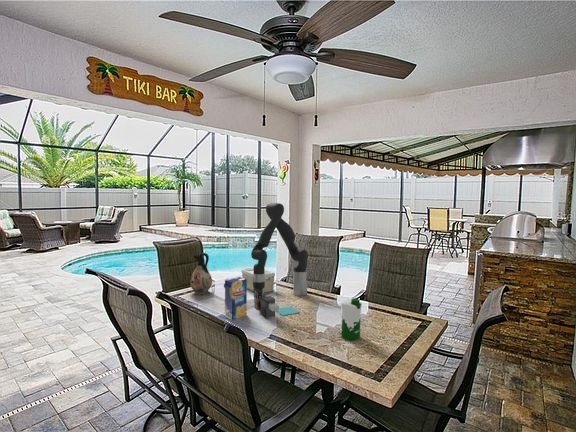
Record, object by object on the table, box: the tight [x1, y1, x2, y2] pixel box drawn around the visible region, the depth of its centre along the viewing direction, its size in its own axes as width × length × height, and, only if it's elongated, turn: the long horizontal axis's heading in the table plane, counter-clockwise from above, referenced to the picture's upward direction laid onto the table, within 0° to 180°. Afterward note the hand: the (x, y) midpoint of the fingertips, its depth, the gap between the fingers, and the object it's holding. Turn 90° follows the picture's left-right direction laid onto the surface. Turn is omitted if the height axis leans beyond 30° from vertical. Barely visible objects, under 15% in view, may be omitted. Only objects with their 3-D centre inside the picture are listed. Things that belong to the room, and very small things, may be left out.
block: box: [253, 297, 261, 310], centre depth 209 cm, size 4×4×6 cm
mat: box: [275, 305, 301, 317], centre depth 204 cm, size 12×12×1 cm
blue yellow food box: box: [224, 276, 248, 321], centre depth 194 cm, size 7×11×22 cm, turn 138°
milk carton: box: [340, 298, 363, 342], centre depth 167 cm, size 9×9×20 cm
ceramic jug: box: [190, 252, 213, 295], centre depth 238 cm, size 17×15×30 cm
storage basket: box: [241, 266, 276, 294], centre depth 250 cm, size 24×16×15 cm
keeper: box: [260, 295, 276, 319], centre depth 196 cm, size 7×7×11 cm
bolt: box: [267, 302, 280, 312], centre depth 193 cm, size 4×16×2 cm, turn 27°
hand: (258, 306), depth 209 cm, fingers closed on block, 4 cm apart
